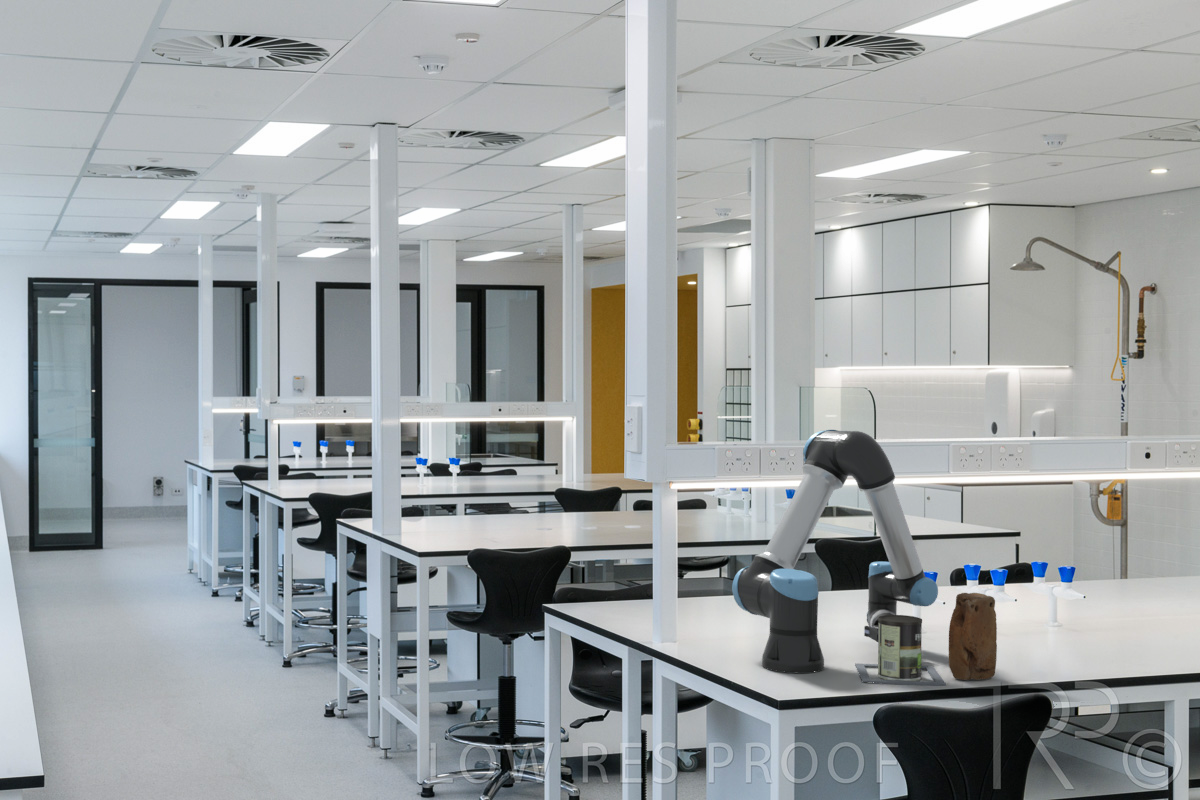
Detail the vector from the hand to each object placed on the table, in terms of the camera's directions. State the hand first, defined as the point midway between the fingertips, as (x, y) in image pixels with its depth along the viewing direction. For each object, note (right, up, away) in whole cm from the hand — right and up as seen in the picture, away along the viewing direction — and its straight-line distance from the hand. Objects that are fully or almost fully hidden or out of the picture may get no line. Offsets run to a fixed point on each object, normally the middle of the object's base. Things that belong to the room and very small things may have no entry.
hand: (896, 644), depth 296 cm
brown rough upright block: (+16, -7, -6) cm, 19 cm away
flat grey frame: (-1, -7, -4) cm, 8 cm away
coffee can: (-1, -7, -6) cm, 9 cm away
